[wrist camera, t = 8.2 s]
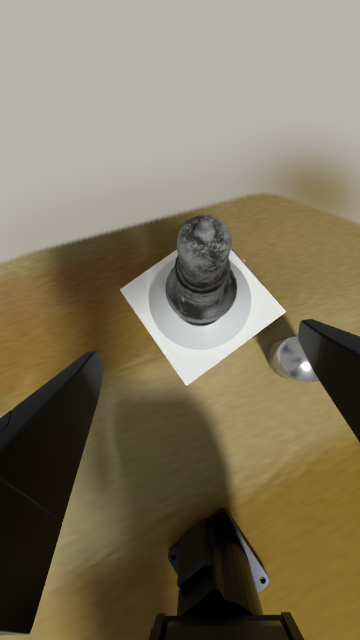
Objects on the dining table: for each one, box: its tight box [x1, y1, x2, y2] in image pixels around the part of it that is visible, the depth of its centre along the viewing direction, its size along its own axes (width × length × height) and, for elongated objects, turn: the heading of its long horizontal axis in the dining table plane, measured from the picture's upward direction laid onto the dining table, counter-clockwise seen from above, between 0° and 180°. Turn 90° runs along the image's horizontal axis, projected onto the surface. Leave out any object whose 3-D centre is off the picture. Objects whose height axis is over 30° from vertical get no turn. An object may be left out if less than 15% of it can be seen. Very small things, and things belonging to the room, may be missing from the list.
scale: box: [120, 249, 286, 386], centre depth 22 cm, size 12×13×3 cm
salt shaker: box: [165, 215, 237, 326], centre depth 15 cm, size 6×6×12 cm
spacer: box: [268, 336, 319, 382], centre depth 20 cm, size 4×4×4 cm
